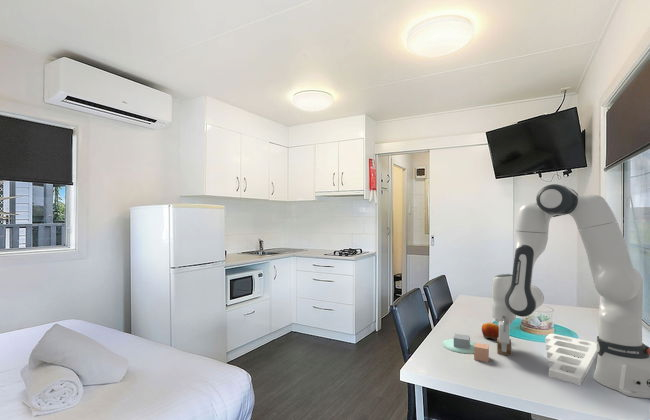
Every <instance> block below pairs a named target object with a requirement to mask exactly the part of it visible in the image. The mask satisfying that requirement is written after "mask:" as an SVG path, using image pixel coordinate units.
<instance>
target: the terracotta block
mask: <svg viewBox="0 0 650 420" xmlns="http://www.w3.org/2000/svg"><path fill="white" fill-rule="evenodd" d="M489 349H490V346H489V344H486V343H480V342H475V344H474V354H473V360H474V361H481V362H486V363H489V360H490V359H489V358H490V357H489V354H490V353H489V352H490V350H489Z"/></svg>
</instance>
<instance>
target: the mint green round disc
mask: <svg viewBox="0 0 650 420" xmlns="http://www.w3.org/2000/svg"><path fill="white" fill-rule="evenodd" d="M475 343H476V342H475V341H472V340H471V335H468V334H461V333H454V336H453V338H448V339H444V340H443V341H442V342H441V344H443V345H442V347H443V348H445V349H446V348H447V350H448V349H449V350H448V351H451V352H455V353H459V354H464V355H465V354H468V355H469V354H470V355H474V344H475Z"/></svg>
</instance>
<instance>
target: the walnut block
mask: <svg viewBox="0 0 650 420" xmlns="http://www.w3.org/2000/svg"><path fill="white" fill-rule="evenodd" d="M496 342H497V343H496V346H497V348H496V349H497V350H496V351H497V355H498V354H499V355H505V356H510V357H511V356H512V340H511V339H510V342H509V344H507V352H503V351H502V347H501V343H499V337H497V339H496Z"/></svg>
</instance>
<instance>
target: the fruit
mask: <svg viewBox="0 0 650 420" xmlns="http://www.w3.org/2000/svg"><path fill="white" fill-rule="evenodd" d="M481 333H482V335H483V338H485V340H486V339H492V340H494V341H496V342H497V337H498V338H499V326H498V324H497V323H493V322H485V323H483V324H482V326H481Z"/></svg>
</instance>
